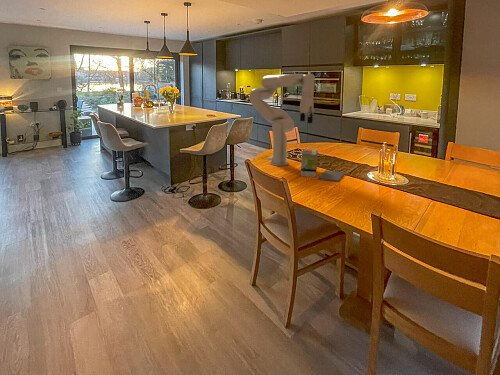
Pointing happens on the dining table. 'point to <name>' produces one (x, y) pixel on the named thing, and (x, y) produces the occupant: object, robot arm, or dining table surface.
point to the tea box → (309, 163)
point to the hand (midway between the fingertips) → (306, 122)
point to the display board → (331, 176)
